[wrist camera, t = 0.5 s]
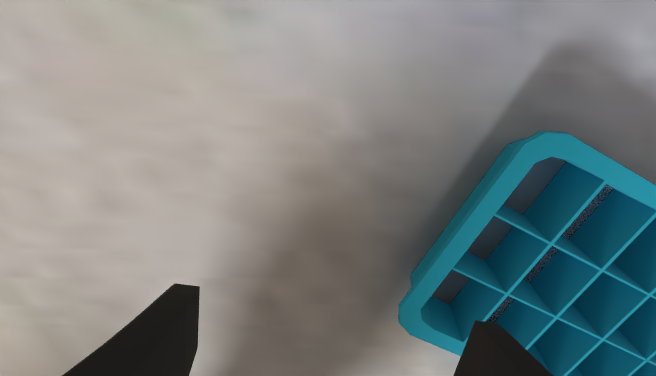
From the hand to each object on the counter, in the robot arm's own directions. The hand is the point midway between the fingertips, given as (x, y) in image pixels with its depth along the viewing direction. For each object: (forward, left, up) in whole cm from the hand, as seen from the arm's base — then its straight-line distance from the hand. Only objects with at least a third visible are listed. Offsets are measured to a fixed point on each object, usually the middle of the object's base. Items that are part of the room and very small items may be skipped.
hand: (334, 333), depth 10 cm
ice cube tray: (-3, -15, -10) cm, 19 cm away
